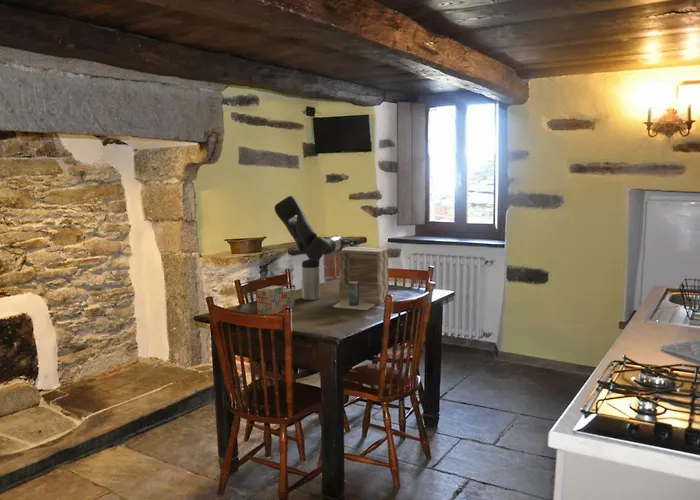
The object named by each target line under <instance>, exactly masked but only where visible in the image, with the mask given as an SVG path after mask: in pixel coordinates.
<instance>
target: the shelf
mask: <svg viewBox="0 0 700 500" xmlns="http://www.w3.org/2000/svg"><path fill="white" fill-rule="evenodd" d="M389 251H390V248H388V247H363V246H345V247H343V249H342V250H341V251H338V252H337V253H338V279H339V280H338V281H339V282H338V285H339V286H338V287H339V290H338V291H339V293H338V294H339V302H341V301H346V302H349V281H350V280H358V281H359V303H372V304H375V305H377V306H380V305H382V304H383V303H384V299H385V296H386V295H388V296H389ZM381 303H382V304H381ZM375 305H374V306H375Z"/></svg>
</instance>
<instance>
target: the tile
mask: <svg viewBox="0 0 700 500" xmlns="http://www.w3.org/2000/svg"><path fill="white" fill-rule="evenodd" d="M332 306H333V308H337V309H339V308H340V309H351V310H363V311H368V310H369V309H371V308H372V307H374V306H375V304H372V303H359V305H357V306H351V305H349V302H346V301H341V302H340V301H339V302H337V303H336V304H334V305H332Z"/></svg>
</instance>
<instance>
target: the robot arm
mask: <svg viewBox="0 0 700 500" xmlns="http://www.w3.org/2000/svg"><path fill="white" fill-rule="evenodd" d="M274 212H275V214H276V216H277V217H278V218H279V219H280V221H281V222H282V223H283V224H284V226H285V227H286V230H287V231H288V233H289V234H290V235H291V237H292V239H294V240H293V241H295V243H296V246H297V249H298V250H299V252H300V254H303V255H306V257H307V258H308V259H305V260H303V261H302V262H301V263H302V264H301V271H302V273H301V274H302V280H301V298H302V300H306V301H307V300H308V301H314V300H315V301H316V300H319V299H321V285H320V284H321V283H320V282H321V281H320V280H321V277H320V276H321V275H320V272H321V271H320V260H321V258H322V257H323V255H329V254H334V253H339V252H338V251H341V250H342V249H343V248H346V247H355V246H357V245H358V244H357V243H358V242H357V239H356V238H342V236H340V235H331V236H328V237H326V238H324V237H322V236H318V235H317V234H318V233H316V232H315V230H314V228H313V227H312V225H310V223H309V221H308V219H307V217H306V215H305V213H304V211H303V209H302V207H301V205H300V203H299V202H298V201H297V200H296V198H295V197H294V196H292V195H288V196H286V197H285V198H283V199H282V200H280V201H278V202H277V203H276V204H275V206H274Z"/></svg>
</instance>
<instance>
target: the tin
mask: <svg viewBox="0 0 700 500" xmlns="http://www.w3.org/2000/svg"><path fill="white" fill-rule="evenodd" d="M349 305H351V306H357V305H359V281H358V280H350V281H349Z"/></svg>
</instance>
